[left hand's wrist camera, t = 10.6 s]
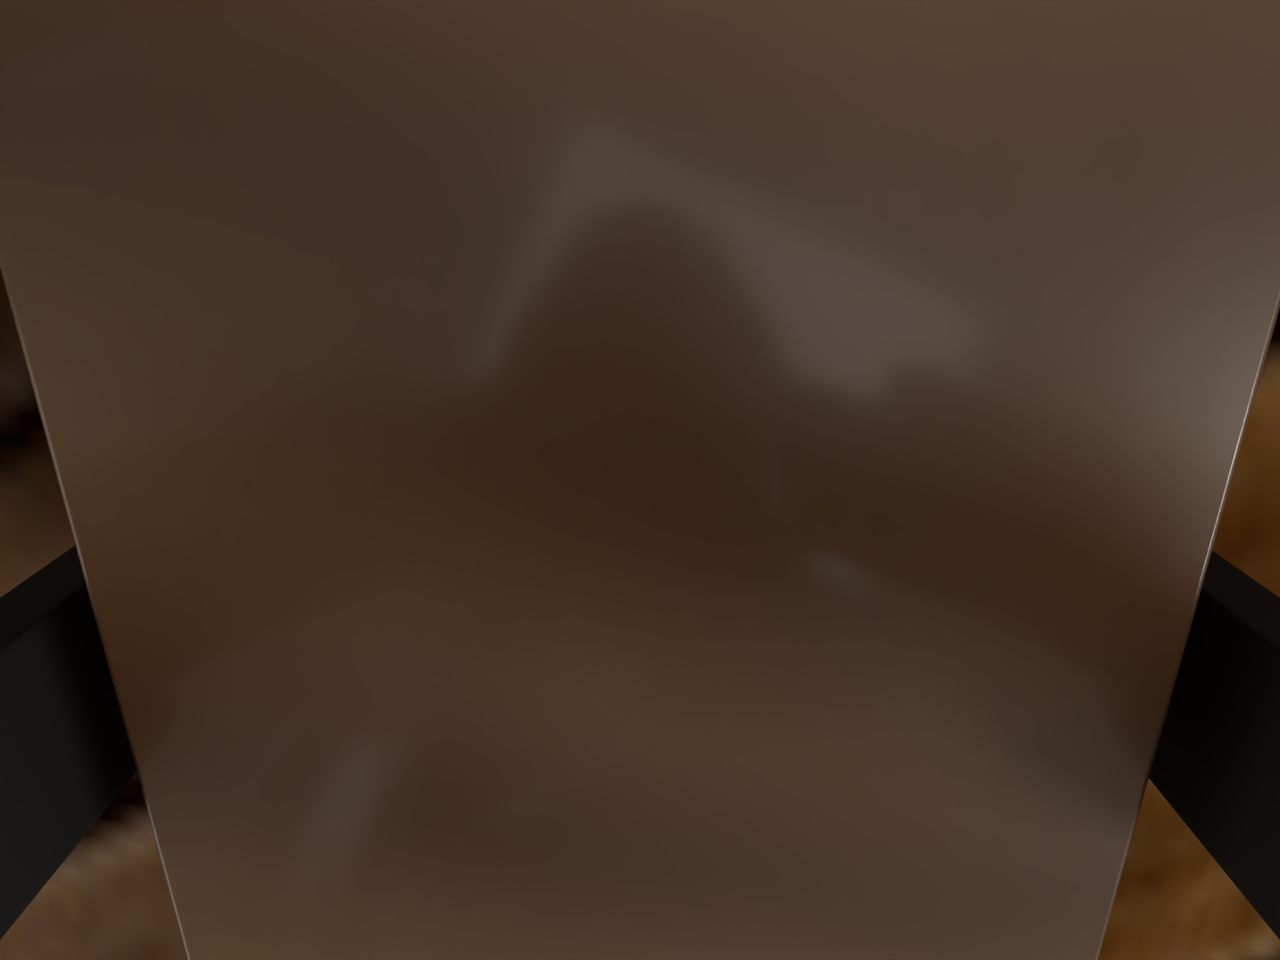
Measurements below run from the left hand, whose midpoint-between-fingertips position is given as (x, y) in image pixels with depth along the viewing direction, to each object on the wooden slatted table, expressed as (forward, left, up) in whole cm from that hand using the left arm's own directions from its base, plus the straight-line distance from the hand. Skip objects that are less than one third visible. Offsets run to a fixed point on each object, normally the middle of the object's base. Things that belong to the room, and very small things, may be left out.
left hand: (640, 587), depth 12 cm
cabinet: (+3, +5, -5) cm, 8 cm away
